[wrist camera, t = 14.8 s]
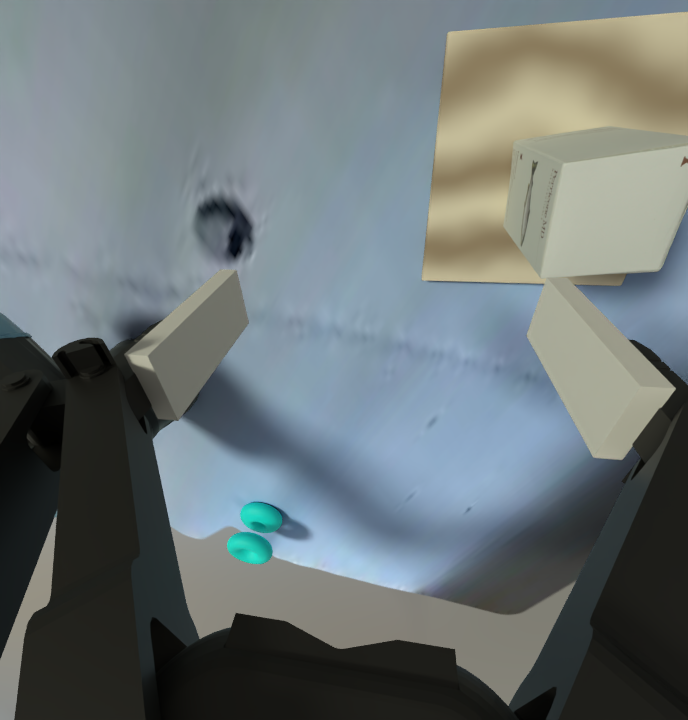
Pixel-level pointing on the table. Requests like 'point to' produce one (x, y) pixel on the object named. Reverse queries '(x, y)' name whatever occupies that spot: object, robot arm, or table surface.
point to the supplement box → (597, 200)
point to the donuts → (252, 544)
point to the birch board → (538, 123)
